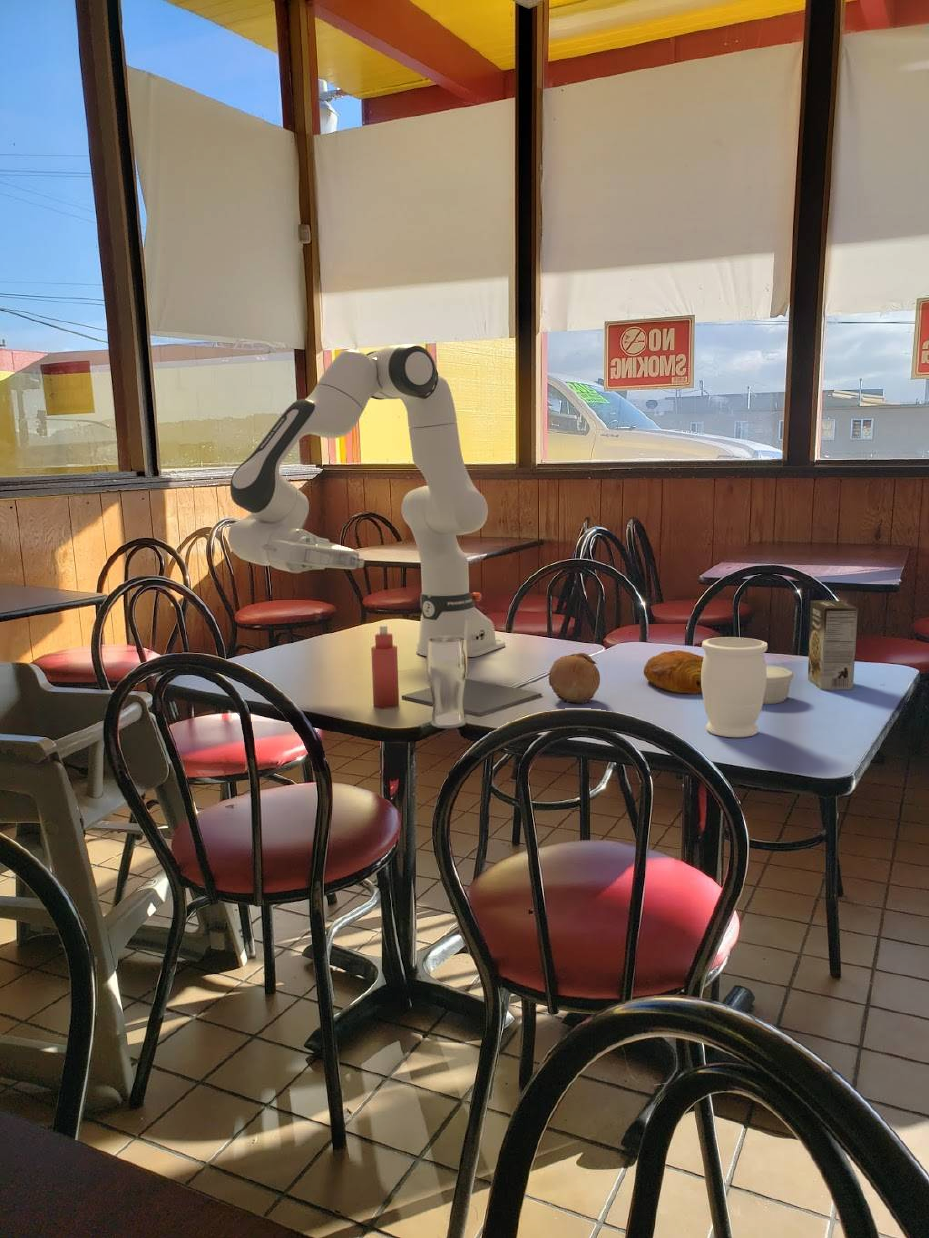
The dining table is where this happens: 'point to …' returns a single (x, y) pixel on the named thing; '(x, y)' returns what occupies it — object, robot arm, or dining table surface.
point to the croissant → (675, 671)
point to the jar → (733, 684)
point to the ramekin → (777, 684)
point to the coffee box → (832, 644)
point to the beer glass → (447, 679)
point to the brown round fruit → (574, 678)
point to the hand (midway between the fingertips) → (346, 561)
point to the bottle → (384, 671)
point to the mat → (481, 697)
